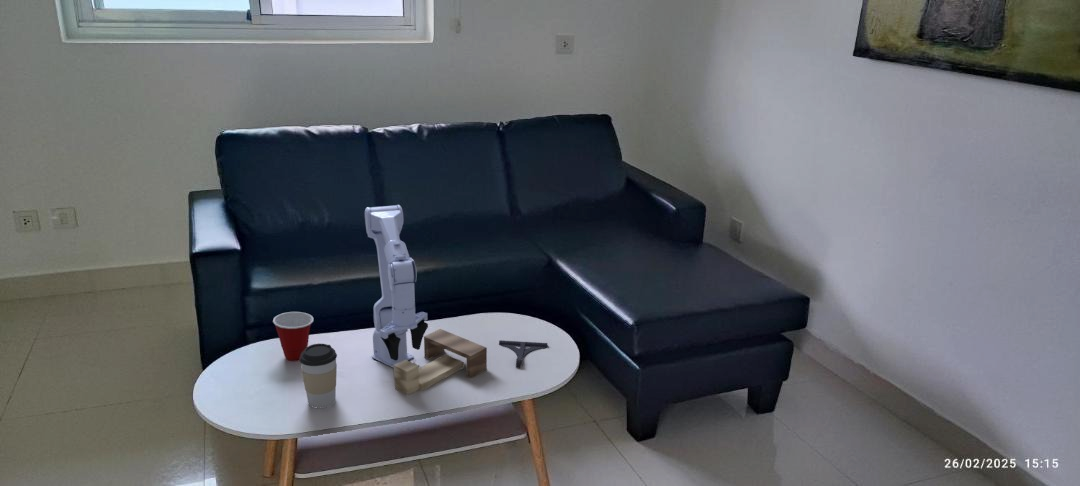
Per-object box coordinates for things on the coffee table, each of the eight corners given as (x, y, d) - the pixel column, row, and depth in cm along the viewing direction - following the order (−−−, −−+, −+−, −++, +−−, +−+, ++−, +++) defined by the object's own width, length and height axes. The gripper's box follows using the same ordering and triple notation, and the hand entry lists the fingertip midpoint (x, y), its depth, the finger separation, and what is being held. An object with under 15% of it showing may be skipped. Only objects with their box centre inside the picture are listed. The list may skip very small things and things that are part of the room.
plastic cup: (319, 361, 208) (316, 322, 204) (279, 368, 204) (275, 329, 200) (313, 345, 217) (310, 307, 213) (274, 351, 213) (270, 313, 209)
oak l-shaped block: (392, 387, 196) (391, 364, 193) (445, 359, 211) (445, 337, 208) (410, 396, 192) (409, 372, 189) (463, 367, 207) (463, 345, 204)
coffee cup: (305, 413, 183) (300, 359, 178) (301, 395, 191) (296, 343, 186) (342, 406, 186) (339, 353, 181) (337, 389, 194) (333, 337, 189)
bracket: (492, 368, 208) (492, 359, 207) (499, 344, 222) (499, 335, 221) (543, 372, 207) (543, 363, 206) (547, 347, 221) (547, 339, 220)
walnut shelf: (424, 357, 212) (423, 336, 209) (440, 349, 216) (440, 328, 214) (470, 378, 201) (470, 356, 199) (486, 369, 206) (486, 347, 204)
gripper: (392, 319, 180) (394, 369, 184) (435, 301, 190) (436, 348, 195) (373, 311, 184) (375, 360, 188) (416, 294, 194) (417, 340, 199)
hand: (405, 353), depth 192 cm, fingers open, 7 cm apart
